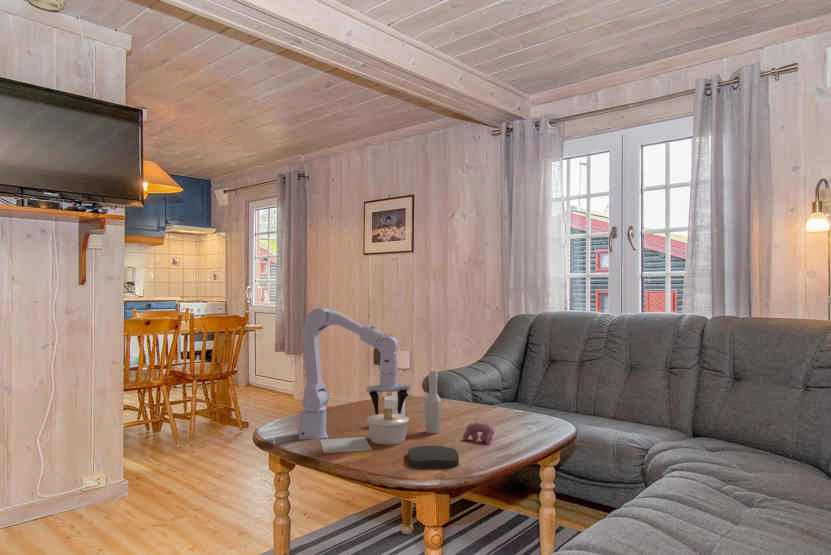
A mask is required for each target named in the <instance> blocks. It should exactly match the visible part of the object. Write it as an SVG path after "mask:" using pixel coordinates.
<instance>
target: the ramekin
mask: <svg viewBox="0 0 831 555" xmlns="http://www.w3.org/2000/svg"><path fill="white" fill-rule="evenodd" d="M408 423H409V422H408ZM408 423H406V424H403V425H398V426H378V425H373V424H370V423H368V422H367V424H368V425H367V426H368V431H369V432H368V433H369V438H370V441H371V442H372V443H374V444H377V445H385V446H387V445H388V446H390V445H398V444H399V445H400V444H401V443H404V441H405V440H406V438H407V437H406V435H407V429H408V428H407V427H408Z"/></svg>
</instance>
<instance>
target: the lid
mask: <svg viewBox="0 0 831 555" xmlns="http://www.w3.org/2000/svg"><path fill="white" fill-rule="evenodd" d="M366 422H367V424H368V423H370V424H373V425H378V426H398V425H403V424H406V423H409V422H410V418H409V416H406V415H405V414H404V415H399V414H392V408H385V407H384V409H383V413H378V415H376V414H372V415H369V416H368V417H366Z"/></svg>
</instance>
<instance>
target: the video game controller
mask: <svg viewBox="0 0 831 555" xmlns="http://www.w3.org/2000/svg"><path fill="white" fill-rule="evenodd" d="M479 433H481V434H480V435H479ZM494 434H495V430H494V428H493V427H492V426H490V425H489V424H486V423H482V422H474V423H473V422H472V423H471V422H470V423H469V424H468V425H467V427H466V429H465V430H464V432H463V436H462V440H463V441H464V442H466V441H467V440H468V439H469V438H470V437H471V439H472V440H474V441H476V440H478V439H480V441H482V442H485V444H486V445H489V444H490V443H491V442H492V440H493V436H494Z"/></svg>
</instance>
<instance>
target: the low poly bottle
mask: <svg viewBox="0 0 831 555" xmlns="http://www.w3.org/2000/svg"><path fill="white" fill-rule="evenodd" d="M438 379H439V375H438V371H437V369H430V370H429V372H428V394H427V395H426V397H425V398H424V402H423V407H424V408H423V412H424V413H423V414H424V424H425V432H426V434H429V433H437V434H439V433H440V428H441V422H442V421H441V420H442V413H443V411H442V410H443V407H442V405H443V401H442V399H441V397H440V396H439V394H438V382H439V380H438Z"/></svg>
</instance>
